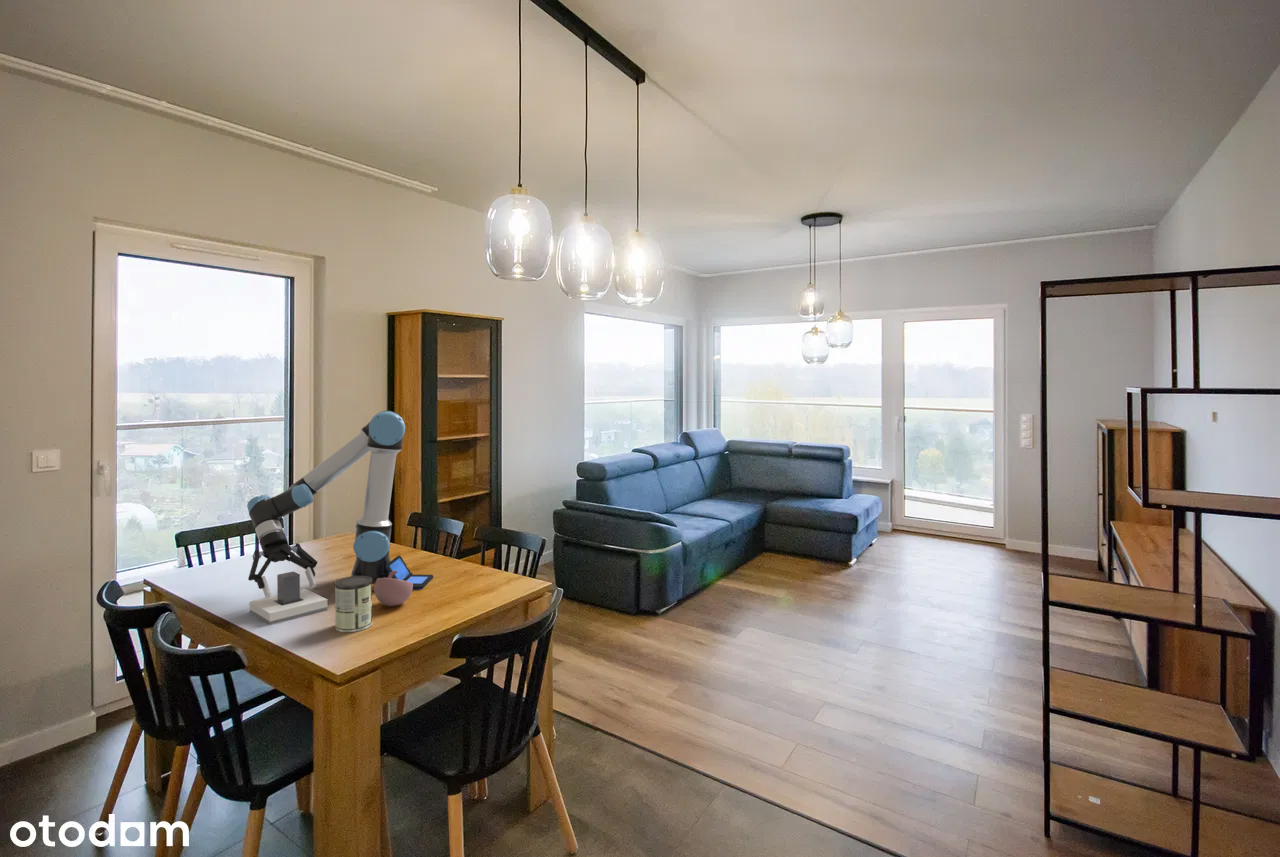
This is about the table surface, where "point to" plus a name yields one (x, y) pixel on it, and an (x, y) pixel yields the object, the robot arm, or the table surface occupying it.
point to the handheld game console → (407, 574)
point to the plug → (288, 588)
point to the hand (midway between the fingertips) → (291, 590)
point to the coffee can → (353, 603)
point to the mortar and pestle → (392, 590)
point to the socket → (287, 607)
